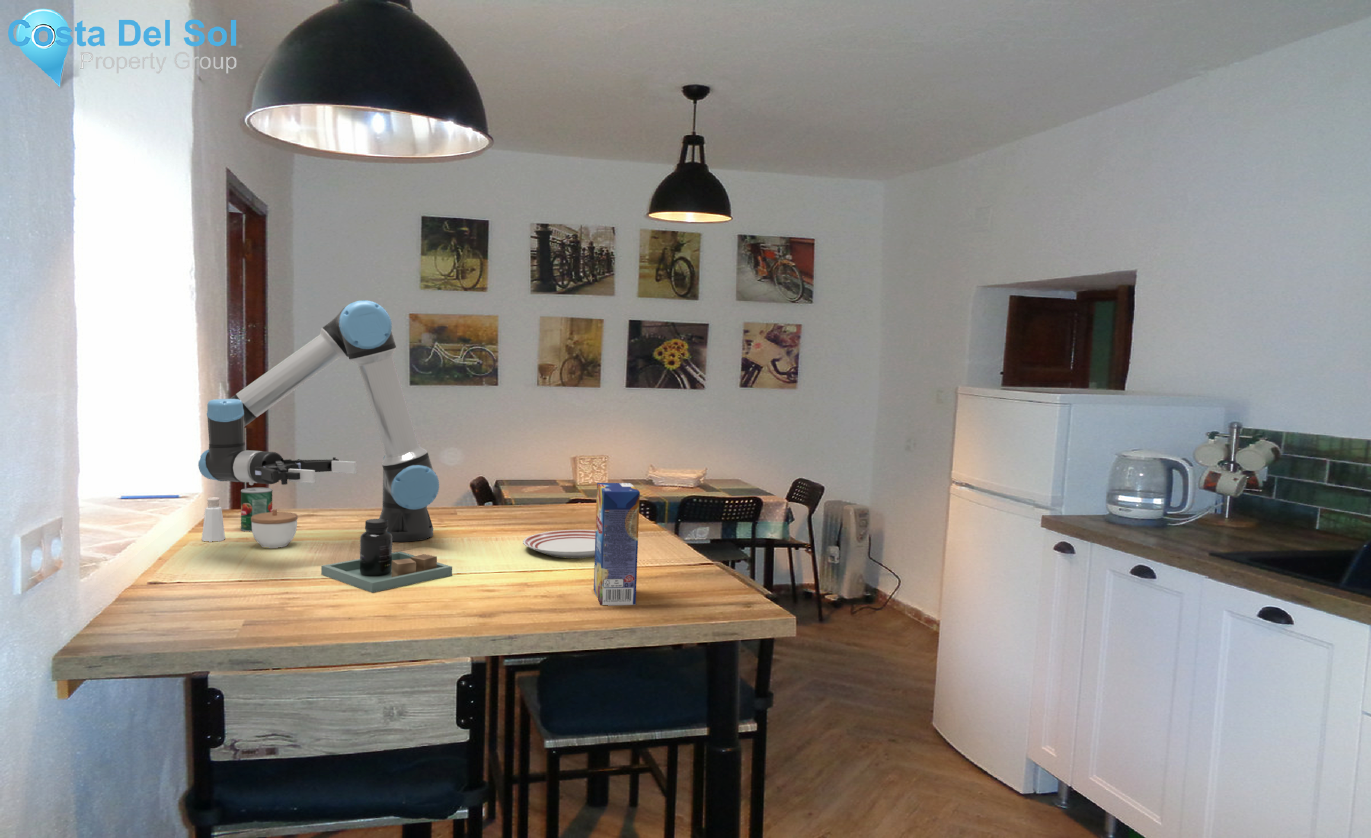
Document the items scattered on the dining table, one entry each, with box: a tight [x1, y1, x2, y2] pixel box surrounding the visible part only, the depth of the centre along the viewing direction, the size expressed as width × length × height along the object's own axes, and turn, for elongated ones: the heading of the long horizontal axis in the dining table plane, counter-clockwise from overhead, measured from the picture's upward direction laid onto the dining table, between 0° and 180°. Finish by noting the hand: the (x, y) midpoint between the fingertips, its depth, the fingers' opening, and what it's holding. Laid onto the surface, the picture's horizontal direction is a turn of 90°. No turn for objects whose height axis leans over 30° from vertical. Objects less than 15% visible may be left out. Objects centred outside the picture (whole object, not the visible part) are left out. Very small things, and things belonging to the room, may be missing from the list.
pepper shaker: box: [201, 496, 226, 543], centre depth 222 cm, size 5×5×11 cm
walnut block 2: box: [411, 553, 438, 572], centre depth 193 cm, size 4×4×4 cm
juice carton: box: [593, 482, 641, 606], centre depth 184 cm, size 12×8×24 cm, turn 13°
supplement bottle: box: [359, 518, 393, 576], centre depth 193 cm, size 7×7×12 cm
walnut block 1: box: [392, 558, 416, 577], centre depth 189 cm, size 4×4×4 cm
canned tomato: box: [240, 487, 273, 533], centre depth 237 cm, size 8×8×11 cm
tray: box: [320, 550, 453, 594], centre depth 192 cm, size 20×20×3 cm
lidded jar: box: [251, 508, 299, 549], centre depth 219 cm, size 11×11×9 cm
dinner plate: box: [522, 529, 596, 559], centre depth 227 cm, size 27×27×3 cm
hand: (335, 472), depth 194 cm, fingers open, 13 cm apart
